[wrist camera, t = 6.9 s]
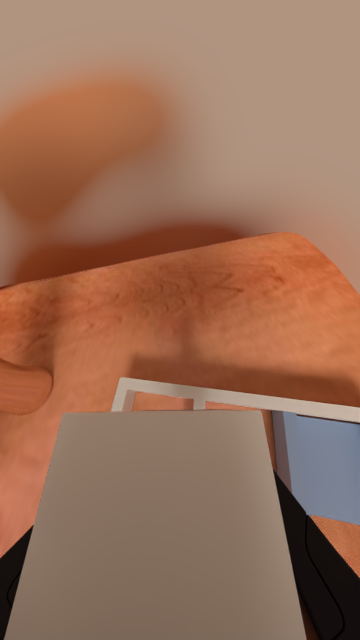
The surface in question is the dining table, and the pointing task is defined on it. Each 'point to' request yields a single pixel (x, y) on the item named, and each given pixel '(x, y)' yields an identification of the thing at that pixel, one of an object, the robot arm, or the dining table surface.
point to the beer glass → (23, 388)
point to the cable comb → (289, 443)
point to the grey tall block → (158, 533)
